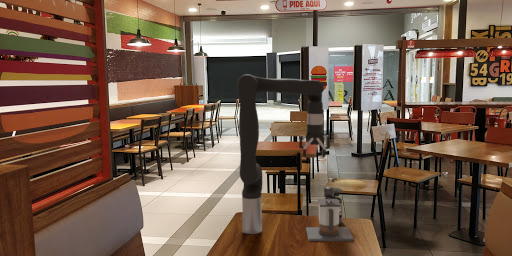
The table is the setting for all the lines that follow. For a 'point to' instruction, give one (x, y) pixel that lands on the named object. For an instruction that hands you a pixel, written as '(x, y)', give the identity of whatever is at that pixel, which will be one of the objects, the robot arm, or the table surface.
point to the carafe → (329, 217)
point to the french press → (337, 193)
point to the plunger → (328, 193)
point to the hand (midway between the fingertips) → (314, 157)
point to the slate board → (315, 236)
